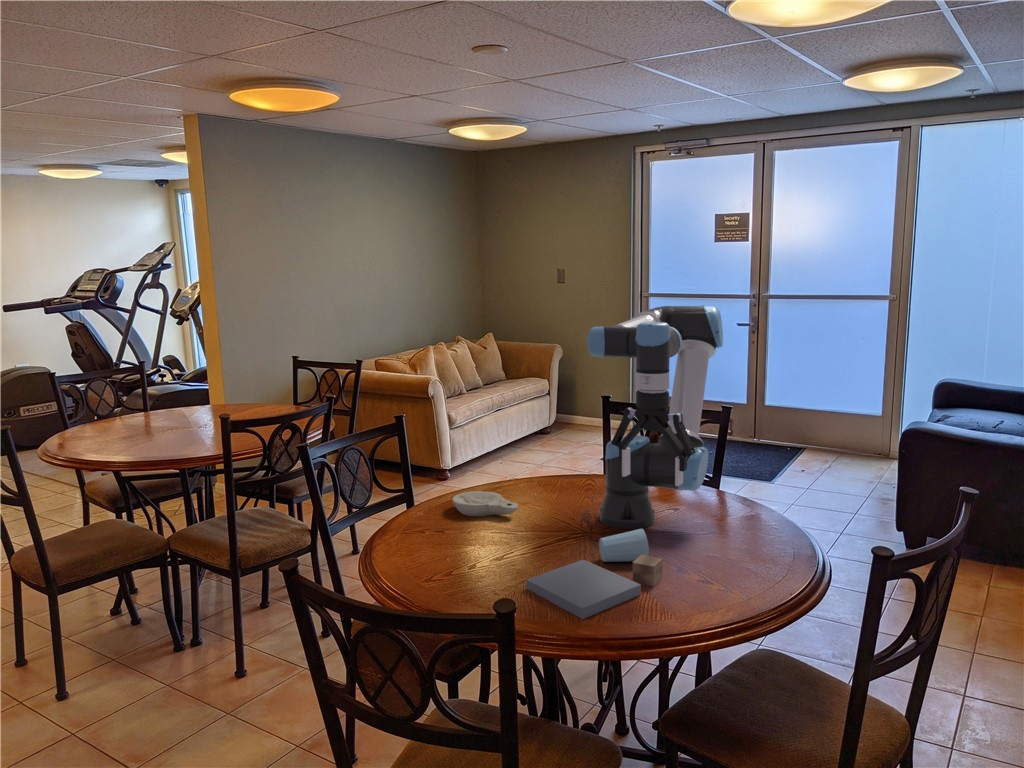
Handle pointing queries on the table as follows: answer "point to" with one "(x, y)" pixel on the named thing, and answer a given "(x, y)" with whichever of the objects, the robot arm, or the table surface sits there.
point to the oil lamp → (483, 504)
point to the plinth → (583, 588)
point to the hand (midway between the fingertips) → (652, 479)
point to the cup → (624, 546)
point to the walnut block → (647, 570)
